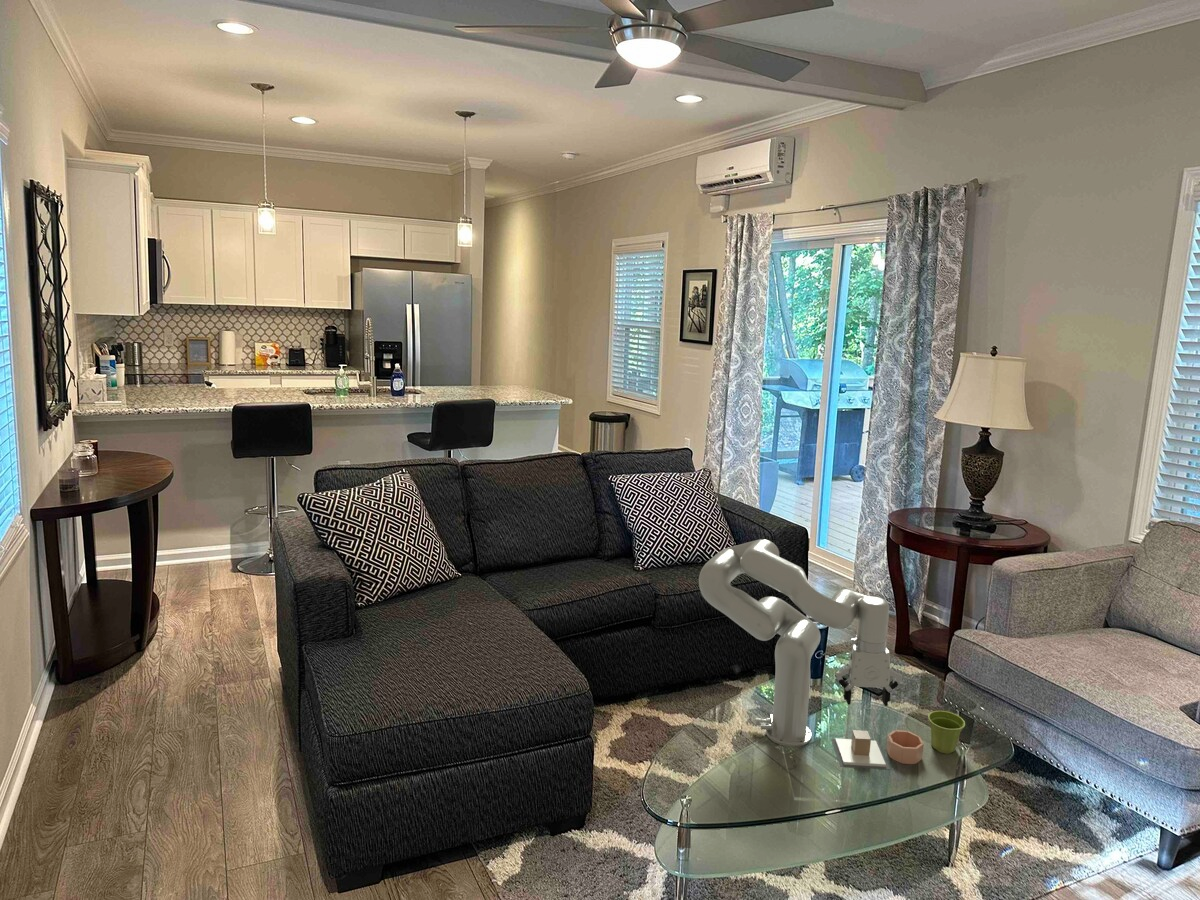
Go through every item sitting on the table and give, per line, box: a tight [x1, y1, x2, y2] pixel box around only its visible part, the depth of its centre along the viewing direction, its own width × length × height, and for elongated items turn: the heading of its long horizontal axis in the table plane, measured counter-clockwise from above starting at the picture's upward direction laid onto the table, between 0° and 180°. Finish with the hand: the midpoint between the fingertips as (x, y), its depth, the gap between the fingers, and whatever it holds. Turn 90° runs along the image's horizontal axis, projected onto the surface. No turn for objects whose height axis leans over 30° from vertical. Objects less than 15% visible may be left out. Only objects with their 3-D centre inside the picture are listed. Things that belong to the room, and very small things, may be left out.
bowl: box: [885, 729, 925, 765], centre depth 228 cm, size 9×9×5 cm
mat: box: [830, 738, 891, 771], centre depth 229 cm, size 13×13×1 cm
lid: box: [834, 729, 886, 767], centre depth 228 cm, size 11×11×6 cm
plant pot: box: [927, 710, 966, 755], centre depth 232 cm, size 9×9×9 cm
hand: (866, 702), depth 225 cm, fingers open, 9 cm apart
